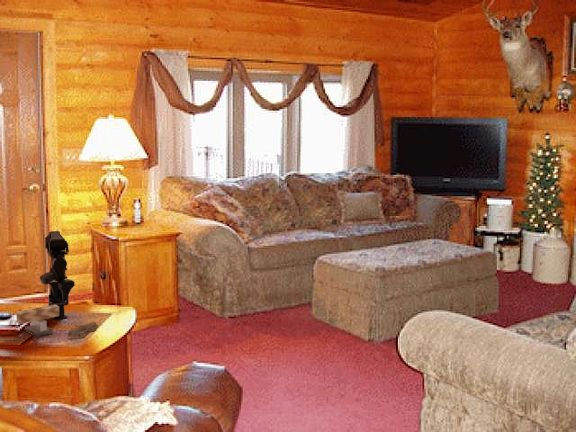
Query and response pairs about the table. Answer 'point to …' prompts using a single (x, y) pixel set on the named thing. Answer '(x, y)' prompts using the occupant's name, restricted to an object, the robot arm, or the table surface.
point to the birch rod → (37, 314)
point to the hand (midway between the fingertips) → (59, 298)
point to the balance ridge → (39, 328)
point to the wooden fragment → (82, 331)
